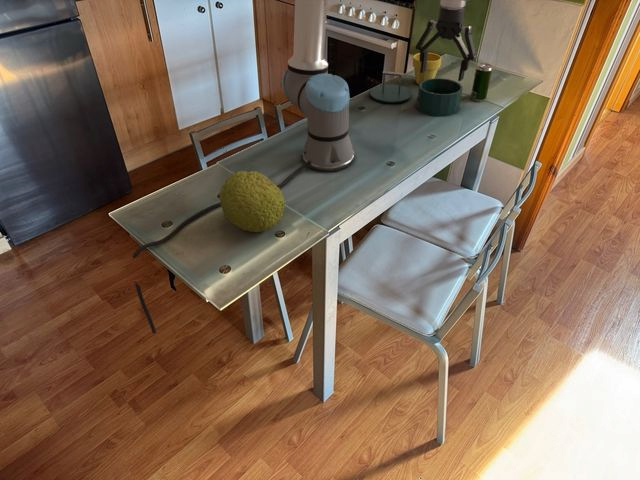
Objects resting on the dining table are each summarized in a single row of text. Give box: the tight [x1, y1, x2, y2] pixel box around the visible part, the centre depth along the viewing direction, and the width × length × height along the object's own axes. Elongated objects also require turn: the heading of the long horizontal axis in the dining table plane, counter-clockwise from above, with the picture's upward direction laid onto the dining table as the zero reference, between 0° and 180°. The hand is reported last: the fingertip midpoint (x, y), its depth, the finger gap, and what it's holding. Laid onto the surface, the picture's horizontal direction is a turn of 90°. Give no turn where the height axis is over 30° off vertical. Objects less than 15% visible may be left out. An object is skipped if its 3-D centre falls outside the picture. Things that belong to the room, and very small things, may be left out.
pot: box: [416, 77, 464, 117], centre depth 162 cm, size 14×14×8 cm
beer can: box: [470, 62, 493, 103], centre depth 165 cm, size 5×5×12 cm
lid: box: [369, 70, 413, 104], centre depth 170 cm, size 15×15×9 cm
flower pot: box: [412, 52, 442, 86], centre depth 179 cm, size 10×10×10 cm
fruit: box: [219, 170, 286, 233], centre depth 112 cm, size 16×14×15 cm
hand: (441, 75), depth 157 cm, fingers open, 13 cm apart
